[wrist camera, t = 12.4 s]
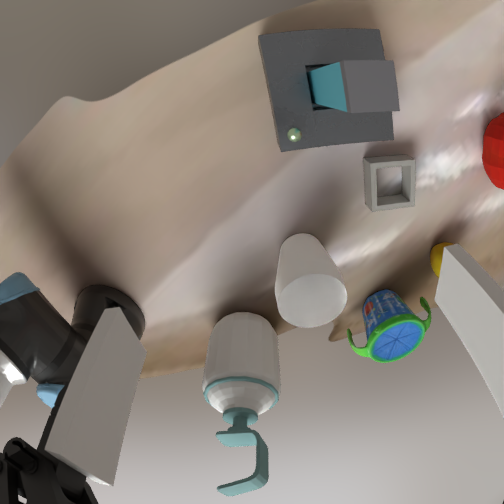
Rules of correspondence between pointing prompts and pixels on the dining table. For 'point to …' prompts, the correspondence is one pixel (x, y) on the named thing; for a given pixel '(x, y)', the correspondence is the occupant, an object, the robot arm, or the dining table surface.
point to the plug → (355, 86)
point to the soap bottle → (243, 386)
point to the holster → (407, 182)
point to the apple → (438, 257)
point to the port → (298, 95)
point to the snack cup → (390, 327)
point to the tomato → (494, 151)
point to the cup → (308, 283)
